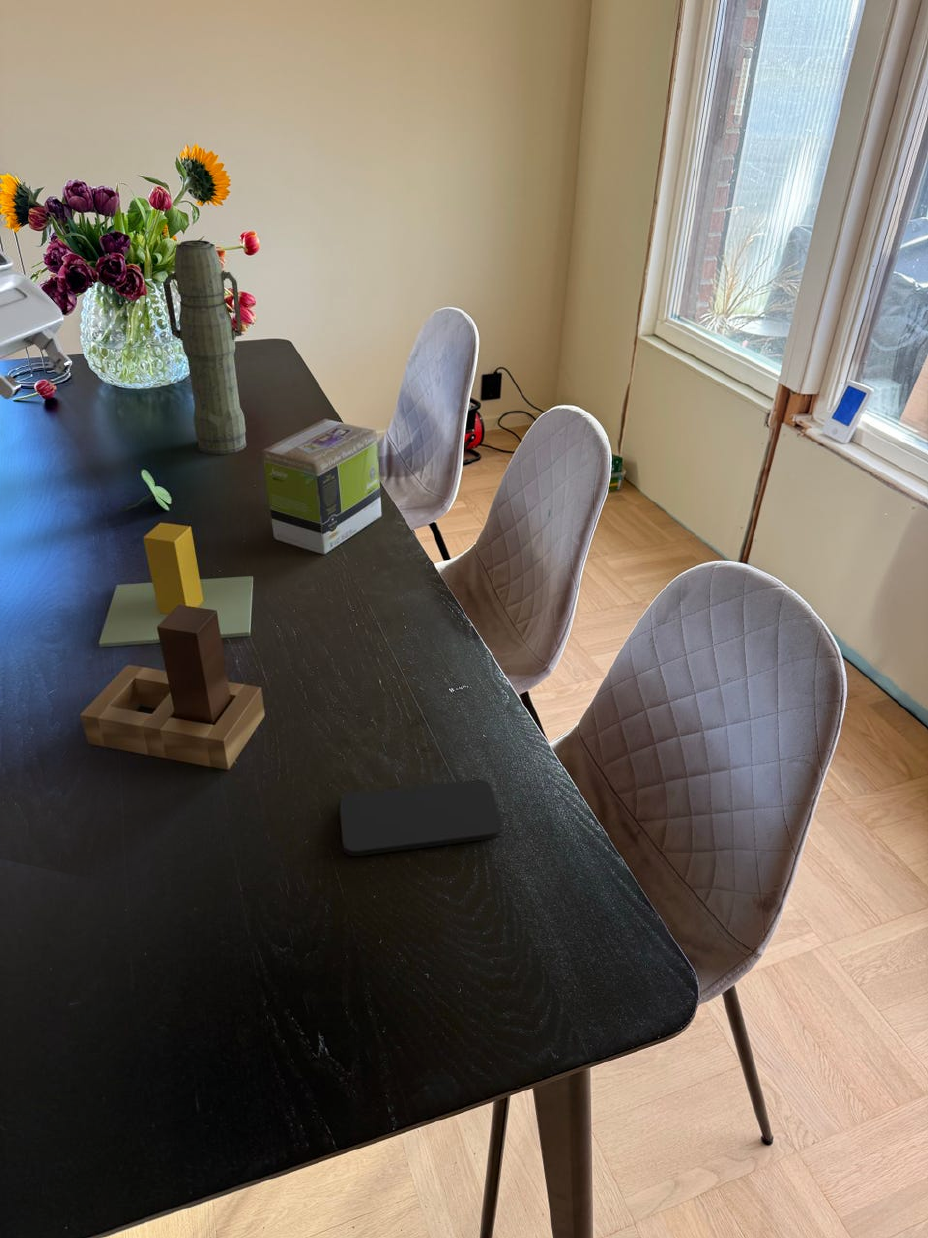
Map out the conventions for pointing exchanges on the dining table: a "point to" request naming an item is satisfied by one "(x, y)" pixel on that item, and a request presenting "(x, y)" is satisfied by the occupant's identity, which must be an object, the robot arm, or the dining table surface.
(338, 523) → the tea box
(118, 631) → the mat
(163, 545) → the yellow peg
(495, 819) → the phone
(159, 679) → the stand
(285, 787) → the dining table surface
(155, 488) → the seedling
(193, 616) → the walnut peg
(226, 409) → the thermos
